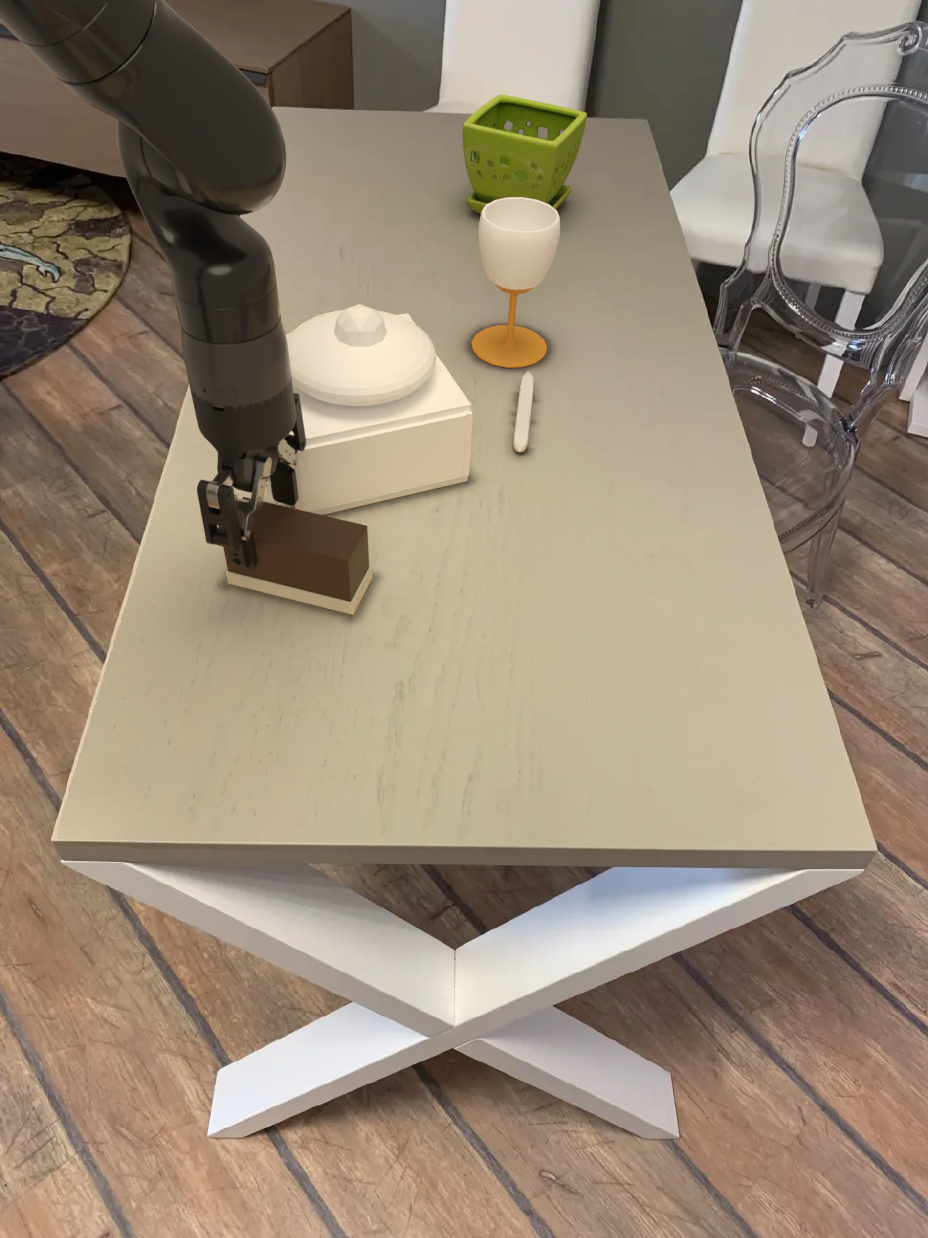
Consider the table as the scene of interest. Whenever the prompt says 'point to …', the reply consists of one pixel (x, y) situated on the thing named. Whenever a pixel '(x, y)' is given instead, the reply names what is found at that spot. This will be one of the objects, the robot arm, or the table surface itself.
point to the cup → (515, 272)
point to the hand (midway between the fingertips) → (266, 532)
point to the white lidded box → (374, 411)
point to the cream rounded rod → (523, 413)
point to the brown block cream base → (306, 558)
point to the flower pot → (521, 150)
